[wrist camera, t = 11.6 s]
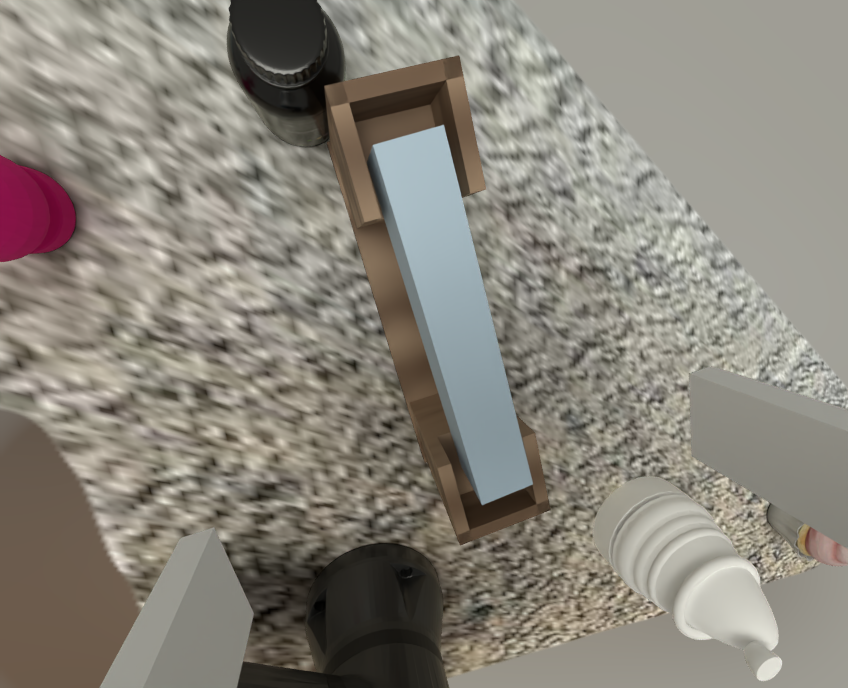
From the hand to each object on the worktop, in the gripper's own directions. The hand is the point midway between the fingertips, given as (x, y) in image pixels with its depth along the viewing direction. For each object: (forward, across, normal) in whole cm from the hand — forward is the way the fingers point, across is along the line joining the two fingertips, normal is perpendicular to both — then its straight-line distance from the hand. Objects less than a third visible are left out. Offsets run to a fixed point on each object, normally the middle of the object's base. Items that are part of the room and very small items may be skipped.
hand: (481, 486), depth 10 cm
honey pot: (+28, -25, +35) cm, 51 cm away
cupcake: (+28, -49, +42) cm, 70 cm away
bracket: (+28, -4, 0) cm, 28 cm away
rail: (+19, -4, 0) cm, 19 cm away
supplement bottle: (+28, +2, -18) cm, 34 cm away
